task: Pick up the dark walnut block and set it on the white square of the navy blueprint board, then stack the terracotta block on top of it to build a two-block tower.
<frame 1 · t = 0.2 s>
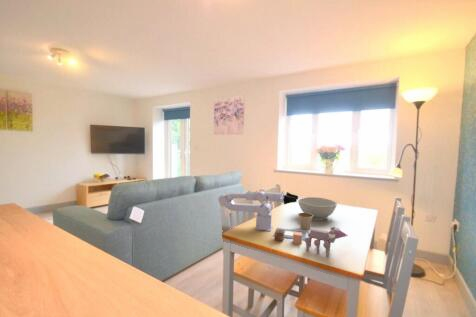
hand: (297, 198, 141), 21 cm above the table, tool horizontal, fingers open, 7 cm apart
blueprint board: (290, 234, 141), on the table
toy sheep: (325, 252, 118), on the table
decorative bowl: (316, 217, 172), on the table
terracotta block: (297, 242, 130), on the table
flower pot: (305, 228, 152), on the table
walnut block: (279, 239, 133), on the table
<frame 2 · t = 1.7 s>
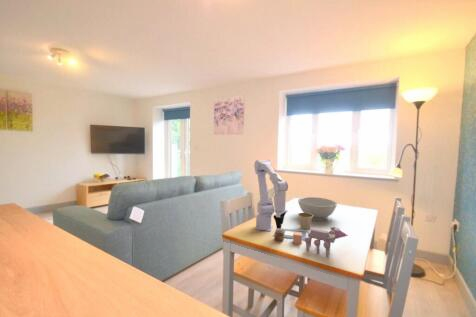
hand: (279, 225, 132), 8 cm above the table, tool pointing down, fingers open, 7 cm apart
nothing on the table moved.
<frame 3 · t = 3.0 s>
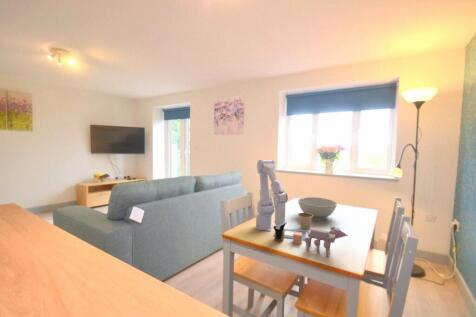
hand: (279, 237, 133), 1 cm above the table, tool pointing down, fingers closed on walnut block, 4 cm apart
walnut block: (279, 239, 133), on the table, touching gripper
everything else where it was.
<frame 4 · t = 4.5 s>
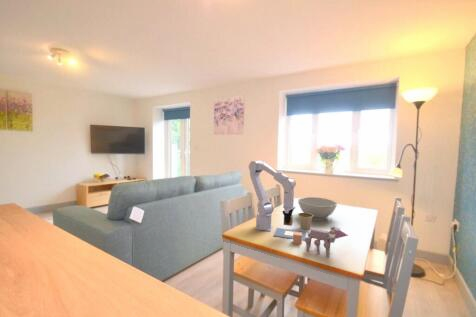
hand: (288, 221, 138), 8 cm above the table, tool pointing down, fingers closed on walnut block, 4 cm apart
walnut block: (288, 224, 138), point 7 cm above the table, touching gripper
everything else where it was.
when the fingers open (3 cm above the table, at t = 6.1 s): walnut block drops 1 cm, resting on blueprint board.
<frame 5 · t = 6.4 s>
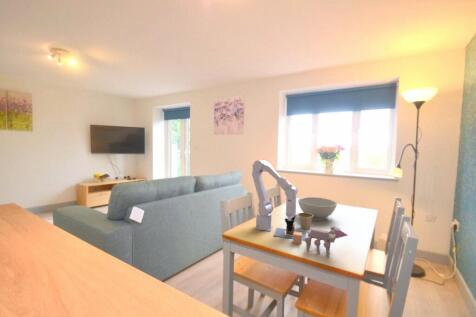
hand: (290, 228, 141), 3 cm above the table, tool pointing down, fingers open, 7 cm apart
walnut block: (290, 233, 141), resting on blueprint board
everything else where it was.
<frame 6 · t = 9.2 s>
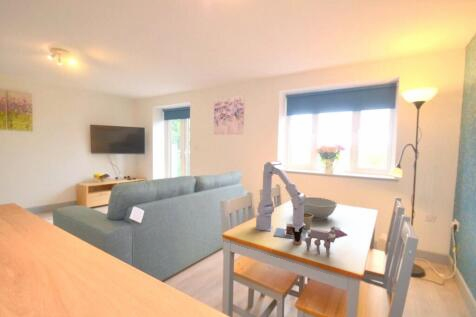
hand: (297, 239, 130), 1 cm above the table, tool pointing down, fingers closed on terracotta block, 4 cm apart
terracotta block: (297, 242, 130), on the table, touching gripper
everything else where it was.
when the fingers open (8 cm above the table, at t = 11.8 s): terracotta block stays where it is, resting on walnut block.
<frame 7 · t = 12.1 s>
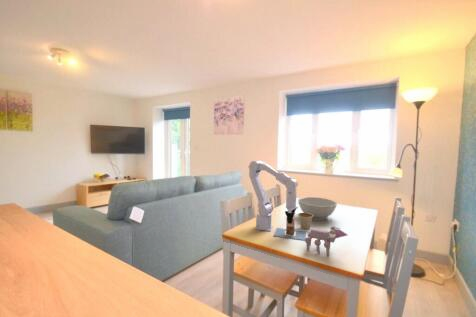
hand: (290, 221, 140), 8 cm above the table, tool pointing down, fingers open, 7 cm apart
terracotta block: (290, 225, 140), point 5 cm above the table, touching walnut block
walnut block: (290, 233, 141), resting on blueprint board, touching terracotta block
everything else where it was.
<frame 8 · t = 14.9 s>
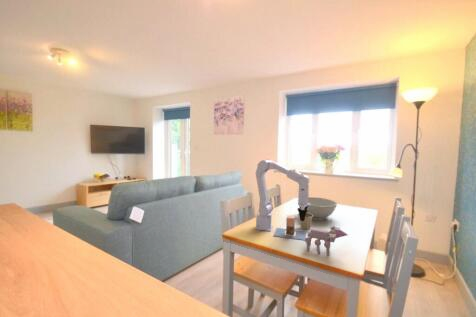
hand: (302, 218, 138), 10 cm above the table, tool pointing down, fingers open, 7 cm apart
nothing on the table moved.
at the end: walnut block 0.1 cm off-centre on the blueprint board, point 0.5 cm above the blueprint board's base; terracotta block 0.1 cm off-centre on the walnut block, point 5.0 cm above the walnut block's base; terracotta block tilted 0° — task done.
